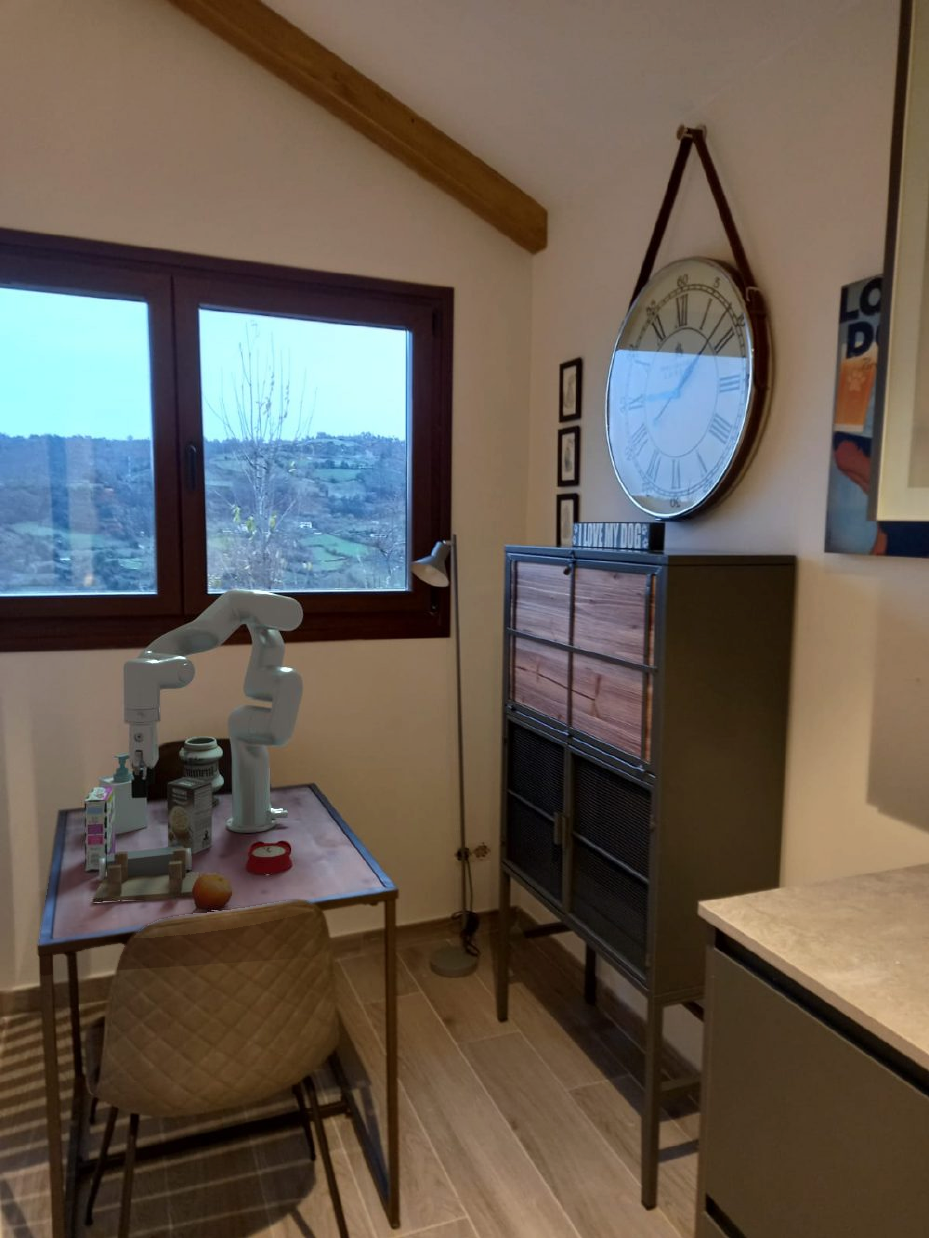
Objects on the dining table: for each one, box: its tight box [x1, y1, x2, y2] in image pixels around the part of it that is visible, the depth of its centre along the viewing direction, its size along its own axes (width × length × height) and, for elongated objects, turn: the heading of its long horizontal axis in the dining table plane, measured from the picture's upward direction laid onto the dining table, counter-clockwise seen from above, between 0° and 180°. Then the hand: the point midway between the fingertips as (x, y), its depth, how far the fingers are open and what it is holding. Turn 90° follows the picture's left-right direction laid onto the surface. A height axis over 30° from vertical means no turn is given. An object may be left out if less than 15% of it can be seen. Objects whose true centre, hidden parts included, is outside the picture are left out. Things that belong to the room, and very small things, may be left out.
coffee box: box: [166, 776, 213, 855], centre depth 207 cm, size 9×6×16 cm
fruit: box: [192, 872, 233, 913], centre depth 174 cm, size 8×8×8 cm
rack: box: [92, 848, 201, 903], centre depth 182 cm, size 20×10×7 cm, turn 102°
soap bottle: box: [98, 753, 148, 836], centre depth 219 cm, size 9×9×19 cm
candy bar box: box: [83, 786, 116, 873], centre depth 196 cm, size 11×5×16 cm, turn 13°
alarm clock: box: [245, 840, 293, 876], centre depth 198 cm, size 10×6×15 cm
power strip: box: [98, 846, 193, 882], centre depth 190 cm, size 19×5×6 cm, turn 112°
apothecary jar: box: [178, 736, 224, 807], centre depth 240 cm, size 12×12×18 cm
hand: (143, 790), depth 190 cm, fingers open, 9 cm apart
